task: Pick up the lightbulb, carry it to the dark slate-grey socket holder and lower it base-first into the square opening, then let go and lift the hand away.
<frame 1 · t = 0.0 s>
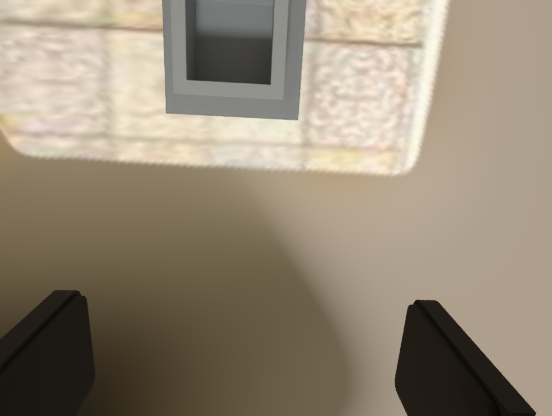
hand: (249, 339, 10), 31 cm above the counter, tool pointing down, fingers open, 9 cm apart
socket holder: (234, 46, 37), on the counter
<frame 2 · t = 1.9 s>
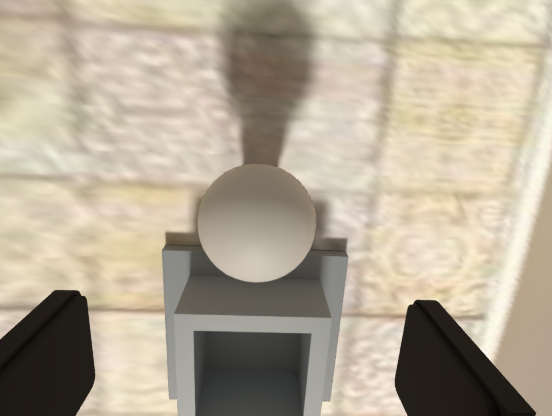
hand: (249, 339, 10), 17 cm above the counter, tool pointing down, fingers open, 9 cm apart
lightbulb: (259, 185, 26), on the counter
socket holder: (253, 324, 30), on the counter
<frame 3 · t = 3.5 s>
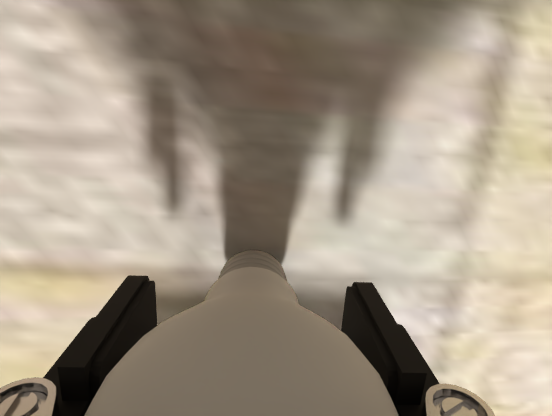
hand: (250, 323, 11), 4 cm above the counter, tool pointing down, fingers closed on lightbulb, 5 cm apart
lightbulb: (253, 268, 15), on the counter, touching gripper
when the fingers open (6 cm above the counter, at t = 9.6 s): lightbulb drops 2 cm, resting on socket holder.
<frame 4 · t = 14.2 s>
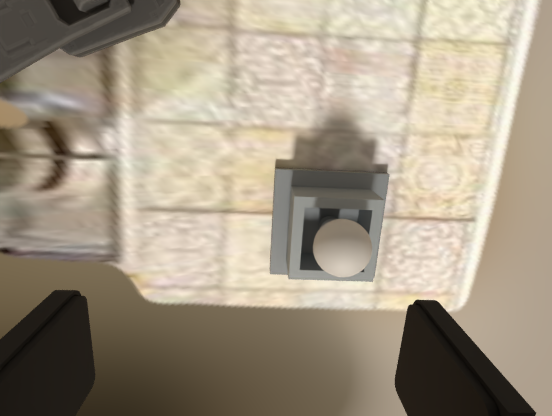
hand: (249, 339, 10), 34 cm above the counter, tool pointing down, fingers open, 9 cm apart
lightbulb: (327, 222, 45), point 1 cm above the counter, touching socket holder
socket holder: (326, 223, 46), on the counter
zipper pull: (71, 24, 38), on the counter
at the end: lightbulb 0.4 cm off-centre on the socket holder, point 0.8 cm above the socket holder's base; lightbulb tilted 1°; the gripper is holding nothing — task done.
